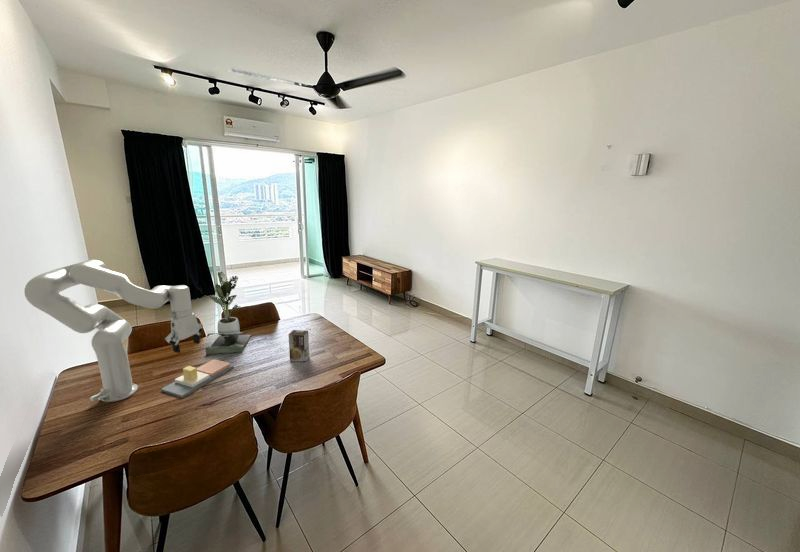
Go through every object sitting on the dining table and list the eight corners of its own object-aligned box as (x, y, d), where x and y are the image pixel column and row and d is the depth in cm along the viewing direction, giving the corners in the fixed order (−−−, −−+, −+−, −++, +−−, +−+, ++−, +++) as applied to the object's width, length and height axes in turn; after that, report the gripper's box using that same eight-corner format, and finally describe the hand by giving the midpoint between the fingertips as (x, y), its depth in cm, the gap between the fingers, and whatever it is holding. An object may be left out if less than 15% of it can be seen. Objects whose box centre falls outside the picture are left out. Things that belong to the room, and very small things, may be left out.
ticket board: (182, 397, 139) (181, 392, 138) (161, 391, 143) (160, 385, 142) (233, 367, 165) (233, 362, 164) (214, 362, 169) (214, 357, 168)
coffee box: (309, 357, 179) (308, 330, 175) (305, 362, 173) (304, 335, 169) (294, 355, 180) (293, 329, 176) (289, 361, 174) (288, 334, 170)
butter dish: (192, 387, 144) (190, 374, 143) (175, 382, 148) (173, 369, 146) (209, 377, 153) (208, 365, 151) (193, 372, 156) (191, 360, 154)
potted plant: (242, 352, 181) (236, 276, 170) (206, 354, 177) (197, 277, 166) (251, 336, 202) (246, 268, 191) (218, 337, 198) (211, 268, 187)
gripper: (169, 320, 132) (174, 357, 137) (205, 308, 148) (209, 341, 152) (156, 318, 135) (162, 354, 139) (193, 305, 151) (198, 338, 155)
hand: (187, 347), depth 146 cm, fingers open, 9 cm apart
